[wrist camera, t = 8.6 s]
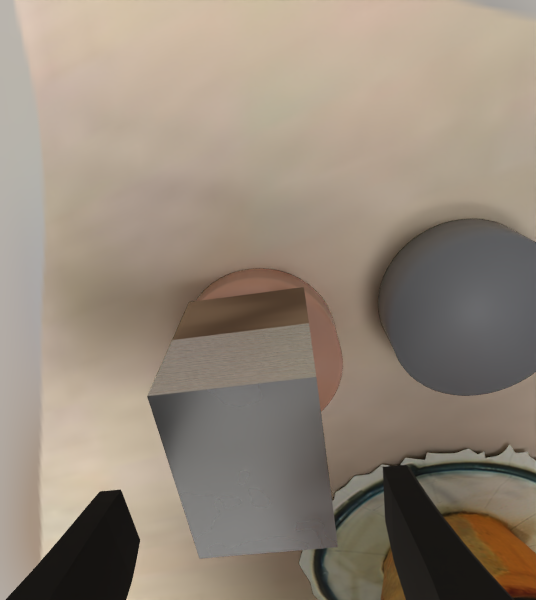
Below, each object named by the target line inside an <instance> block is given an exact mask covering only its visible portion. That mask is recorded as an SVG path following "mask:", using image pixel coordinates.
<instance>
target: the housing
mask: <svg viewBox="0 0 536 600" xmlns="http://www.w3.org/2000/svg"><path fill="white" fill-rule="evenodd" d="M147 397H148V400H149V403H150V406H151V409H152V412H153V415H154V418H155V422H156V425H157V428H158V431H159V434H160V437H161V440H162V443H163V446H164V450H165V453H166V456H167V459H168V462H169V465H170V468H171V471H172V474H173V478H174V481H175V484H176V487H177V490H178V493H179V496H180V499H181V502H182V506H183V509H184V512H185V515H186V518H187V521H188V524H189V527H190V530H191V534H192V537H193V540H194V543H195V546H196V549H197V552H198V555H199V558H212V557H224V556H237V555H249V554H261V553H273V552H285V551H297V550H310V549H322V548H334V547H338V543H337V536H336V528H335V520H334V512H333V504H332V496H331V488H330V480H329V473H328V465H327V457H326V449H325V441H324V433H323V425H322V417H321V410H320V402H319V394H318V386H317V378H316V371H315V363H314V356H313V349H312V342H311V335H310V327H309V320H308V313H307V306H306V298H305V291H304V287H300V288H292V289H285V290H277V291H270V292H263V293H255V294H247V295H240V296H232V297H224V298H216V299H209V300H201V301H193V302H189V304H188V306H187V308H186V310H185V313H184V315H183V317H182V319H181V322H180V324H179V326H178V328H177V331H176V333H175V335H174V337H173V340H172V342H171V344H170V346H169V349H168V351H167V353H166V355H165V358H164V360H163V362H162V364H161V367H160V369H159V371H158V373H157V375H156V378H155V380H154V382H153V384H152V387H151V389H150V391H149V393H148V396H147Z"/></svg>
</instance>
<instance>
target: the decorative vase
mask: <svg viewBox="0 0 536 600" xmlns="http://www.w3.org/2000/svg"><path fill="white" fill-rule="evenodd" d="M400 465H407V466H408V467H410V468H411V470H412V472H413V473H414V475H415V477H416V478H417V480H418V481H419V483H420V484H421V486H422V487H423V489H424V490H425V492H426V493H427V495H428V496H429V498H430V499H431V500H432V502H433V503H434V505H435V506H436V507H437V509H438V510H439V511H440V513H441V514H442V515H443V517H444V518H445V519H446V521H447V522H448V523H449V525H450V526H451V527H452V528H453V530H454V531H455V532H456V533H457V535H458V536H459V537H460V538H461V540H462V541H463V542H464V543H465V545H466V546H467V547H468V548H469V549H470V551H471V552H472V553H473V554H474V555H475V557H476V558H477V559H478V560H479V561H480V562H481V563H482V565H483V566H484V567H485V568H486V569H487V570H488V572H489V573H490V574H491V575H492V576H493V577H494V578H495V579H496V580H497V581H498V583H499V584H500V585H501V586H502V587H503V588H504V589H505V590H506V591H507V592H508V593H509V594H510V595H511V596H512V597H513V598H514V599H515V600H536V460H534V459H533V458H531V457H530V456H529V454H528V452H521V453H515V451H514V450H513V449H512V447H511V446H510V445H509V446H508V447H507V449H506V450H505V451H504V452H503V453H501V454H500V455H498V456H494V457H488V458H485V453H484V452H482V453H480V454H476V453H475V452H473V451H472V450H470V449H466V450H463V451H460V452H457V453H445V454H437V453H427V455H426V458H425V460H421V459H413V458H405V459H404V460H403V462H402V463H401V464H400ZM386 466H388V465H384V464H382V465H381V466H380V467H378V468H377V469H376V470H375V471H373V472H372V473H371V474H367V475H358V476H354V477H353V478H352V479H351V480H350V482H349V483H348V484H347V485H346V486H345V487H343V488H342V489H340V490H339V491H337V492H335V497H334V500H332V504H333V512H334V520H335V528H336V536H337V543H338V547H334V548H322V549H310V550H302V554H301V558H300V561H299V565H300V566H301V568H302V570H303V572H304V573H305V575H306V577H307V578H308V580H309V581H310V583H311V587H312V592H313V595H314V596H315V597H316V598H317V599H318V600H406V599H405V596H404V592H403V589H402V586H401V583H400V580H399V577H398V573H397V570H396V567H395V564H394V560H393V555H392V551H391V546H390V542H389V537H388V532H387V527H386V523H385V507H384V485H383V467H386Z"/></svg>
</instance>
